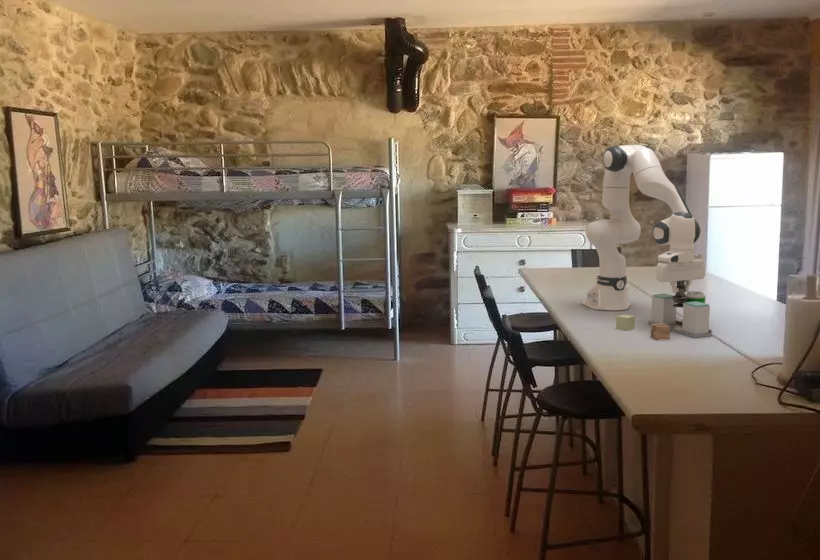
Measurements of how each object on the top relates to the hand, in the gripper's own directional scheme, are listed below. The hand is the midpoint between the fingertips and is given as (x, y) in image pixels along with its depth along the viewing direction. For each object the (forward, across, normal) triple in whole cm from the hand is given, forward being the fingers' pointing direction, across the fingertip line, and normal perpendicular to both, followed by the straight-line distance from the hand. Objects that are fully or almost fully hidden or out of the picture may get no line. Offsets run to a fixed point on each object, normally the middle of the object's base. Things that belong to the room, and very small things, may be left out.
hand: (680, 292), depth 285 cm
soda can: (+15, -14, -8) cm, 22 cm away
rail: (+15, 0, 0) cm, 15 cm away
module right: (+13, 0, +9) cm, 16 cm away
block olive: (+15, +17, -10) cm, 25 cm away
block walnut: (+15, +15, +8) cm, 22 cm away
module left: (+13, 0, -9) cm, 16 cm away
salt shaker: (+6, 0, 0) cm, 6 cm away
